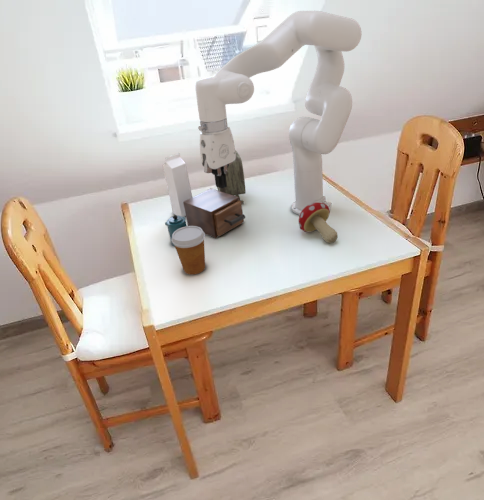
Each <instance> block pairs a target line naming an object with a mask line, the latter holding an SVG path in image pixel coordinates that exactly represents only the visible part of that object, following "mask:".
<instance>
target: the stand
mask: <svg viewBox="0 0 484 500" xmlns="http://www.w3.org/2000/svg"><path fill="white" fill-rule="evenodd" d="M239 197H240V196H239ZM239 197H237V196H234V195H230V194H227V193H224V192H221V191H218V189H214V188H211V187H210V188H209V189H207V190H204V191H202V192H201V193H198V194H196V195H194V196H192V198H190V199H188V200H186V201H184V202H183V204H184V208H185V213H186V216H185V219H186V224H187V226H197V227H200V228H201V229H202V230H203V232H204V233H205V235H206V236H209V237H212V238H214V239H217V238H219V237H220V236H218V235H217V232H216V227H215V221H214V215H213V213H215V212H217V211H218V210H220V209H222V208H224V207H226V206H228V205H230V204H232V203H233V202H237V201H240V200H239Z"/></svg>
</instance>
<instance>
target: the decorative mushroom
mask: <svg viewBox="0 0 484 500" xmlns="http://www.w3.org/2000/svg"><path fill="white" fill-rule="evenodd" d="M330 212H331V210H330V211H329V207H328V206H327V205H326V204H324V203H317V202H315V203H312V204H309V205H307V206H306V207H305V208H304V209H303V210H302V211H301V213H300V215H298V227H299V229H300V230H301V231H303V232H304V233H311V232H314V231H317V232H318V233H319V234H320V236H321V237H322V239H323V240H324V241H325V243H328V244H332V243H335V242H336V241H337V240H338V237H339V236H338V235H339V234H338V232H337V230H336V229H334V228H333V227H332V226H330V225H329V224H328V223H327V220H329V216H330Z"/></svg>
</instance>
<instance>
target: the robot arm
mask: <svg viewBox="0 0 484 500" xmlns="http://www.w3.org/2000/svg"><path fill="white" fill-rule="evenodd" d="M361 40H362V28H361V25H360V24H359V22H358V21H357V20H356V19H354V18H351V17H347V16H342V15H339V14H334V13H330V12H327V11H321V10H298V11H295V12H293V13H291V14H290V15H289V16H287V17H286V18H285V19H284V20H283V21H282V22H281V23H280V24H279V25H278V26H276V27H275V28H274V29H273V30H272V31H271V32H270V33H269V34H267V35H266V37H264V38H263V39H262V40H260V41H259V42H257V43H256V44H254V45H251V46H250V47H249V48H247V49H245V50H243V51H242V52H240V53H238V54H237V55H235V56H233V57H232V58H230V60H228V61H227V62H226V63H225V64H224V65H223V66H222V67H221V68H220V69H219V70H218V71H217V72H215V74H214V75H213V77H211V76H210V77H203V78H199V79H198V80H196V81H195V84H194V90H195V96H196V97H195V98H196V103H197V110H198V118H199V126H198V127H197V128H198V129H197V130H198V131H200V132H199V155H200V161H201V165H202V167H203V172H204V173H205V174H212V175H213V176H214V182H215V187H216V188H217V187H219V188H224V187H227V181H226V173H227V169H228V166H229V165H230V164H231V163H233V161H234V160H235V159H236V153H235V150H236V147H235V140H234V136H233V134H232V130H231V128H230V126H229V125H228V117H227V106H226V105H238V104H239V105H240V104H243V103H246V102H248V101H250V100H251V98H252V97H253V95H254V92H255V86H254V85H255V84H254V82H253V81H252V79H251V78H252V77H254V76H256V75H258V74H262V73H267V72H271V71H273V70H274V71H275V70H276V69H279V68H280V67H282V66H283V65H284V64H285V63H286V62H288V60H289V59H290V58H291V57H293V56H294V55H295V54H296V53H297V52H298V51H299V50H300V49H302V48H303V47H304V46H305V45H306V46H314V48H315V52H316V56H317V64H316V67H315V71H314V74H313V77H312V79H311V82H310V85H309V88H308V90H307V93H306V96H305V99H304V107H305V109H306V110H307V111H308V112H309V113H310V114H313V115H316V116H319V117H320V119H316V118H313V117H309V116H300V117H297V118H295V119H294V120H293V121H292V123H290V125H289V127H288V128H289V129H288V139H289V144H290V147H291V152H292V159H293V160H292V163H293V164H292V165H293V180H294V183H293V184H294V199H295V200H294V202H292V204H291V212H292V213H293V214H296V215H298V216H300V213H301V211H302V210H303V209H304V208H305V207H306V206H307V205H309V204H312V203H315V202H317V203H324V204H326V205H327V206H328V207H329V211H330V212H331V208H332V205H333V204H332V202H329V201H327V200H326V198H327V197H326V196H324V186H323V185H324V184H323V183H324V182H323V179H324V178H323V156H322V155H329V154H330V153H331V152H333V151H334V150H335V148H336V147H337V145H338V144H339V142H340V139H341V137H342V134H343V132H344V129H345V128H346V125H347V122H348V120H349V118H350V115H351V112H352V108H353V97H352V94H351V92H350V91H349V90H348V89H347V88H346V87H343V86H342V85H341V83H342V80H343V76H344V72H345V59H344V55H343V53H344V52H350V51H353V50H354V49H356V48H357V46H359V44H360V42H361ZM340 85H341V86H340Z"/></svg>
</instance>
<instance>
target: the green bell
mask: <svg viewBox="0 0 484 500" xmlns="http://www.w3.org/2000/svg"><path fill="white" fill-rule="evenodd" d="M235 153H236V159H235V160H234V161H233V163H231V164H230V165H229V166H228V169H227V173H226V181H227V187H224V188H219V187H216V188H217V189H216V190H218V191H221V192H224V193H227V194H230V195H234V196H237V197H239V200H240V201H241V204H242V205H244V203H245V201H244V200H243V199H241V197H240V196H241V195H246V193H247V191H246V180H245V172H244V166H243V165H244V164H243V161H242V158H241V155H240V154H239V153H238V151H237V150H236V149H235Z"/></svg>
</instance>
